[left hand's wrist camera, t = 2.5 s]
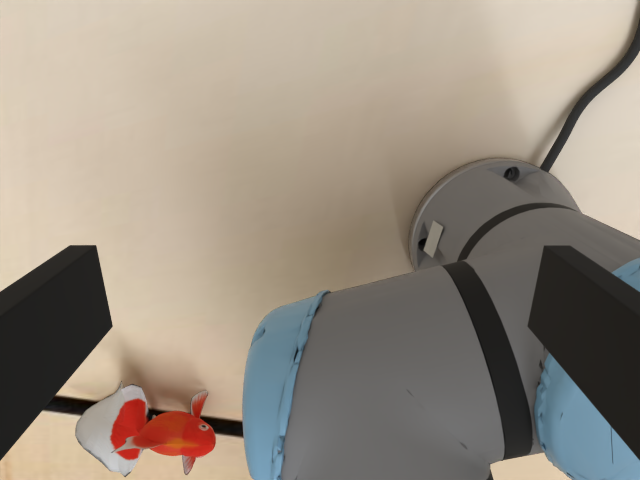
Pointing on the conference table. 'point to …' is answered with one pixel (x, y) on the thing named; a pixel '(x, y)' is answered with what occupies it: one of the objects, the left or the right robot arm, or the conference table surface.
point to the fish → (142, 430)
